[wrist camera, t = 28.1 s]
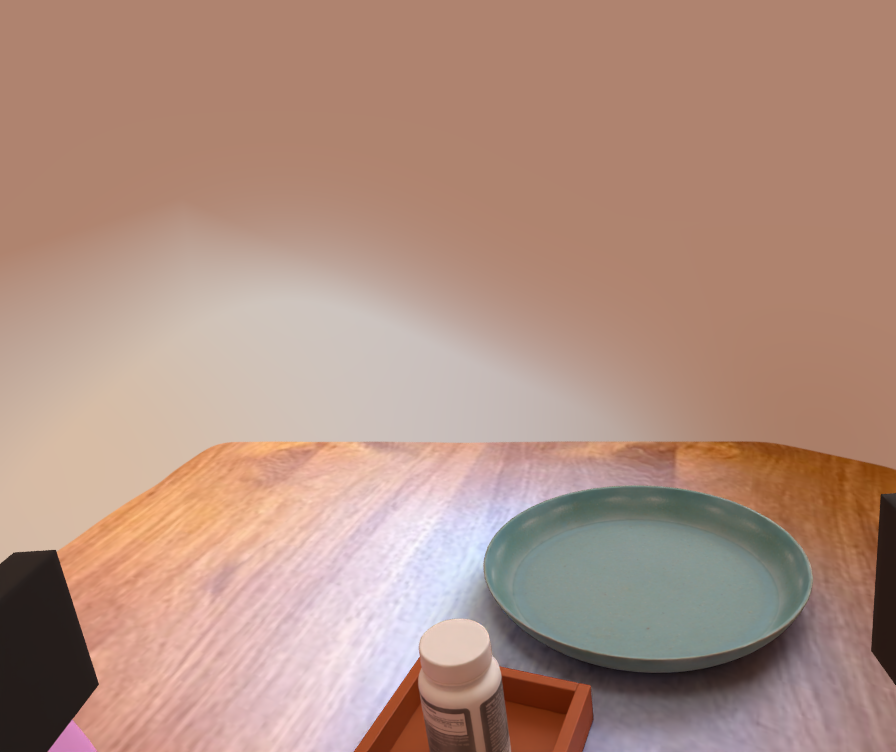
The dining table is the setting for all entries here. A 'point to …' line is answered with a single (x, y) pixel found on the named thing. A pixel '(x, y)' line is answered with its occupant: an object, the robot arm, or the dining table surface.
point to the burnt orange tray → (527, 708)
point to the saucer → (648, 577)
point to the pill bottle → (462, 689)
